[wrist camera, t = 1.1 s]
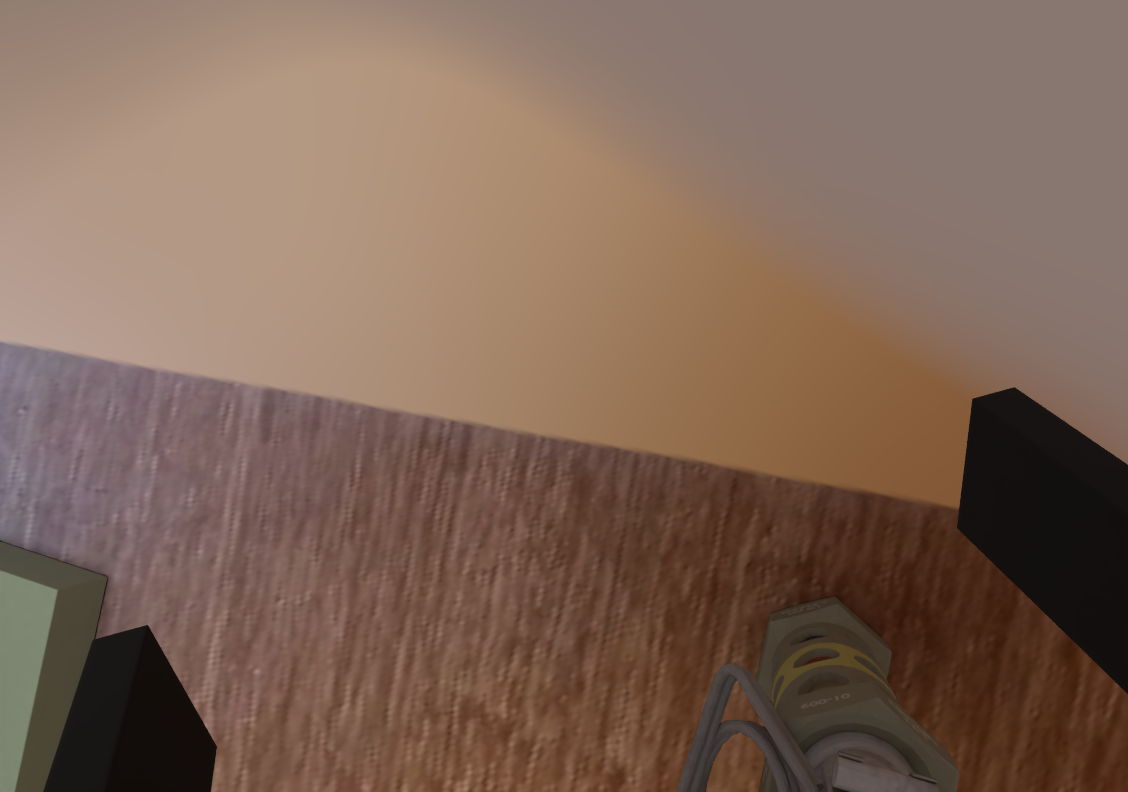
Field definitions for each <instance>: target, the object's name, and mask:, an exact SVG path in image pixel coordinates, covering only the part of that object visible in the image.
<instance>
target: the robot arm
mask: <svg viewBox="0 0 1128 792" xmlns="http://www.w3.org/2000/svg"><path fill="white" fill-rule="evenodd" d="M957 528H958V529H959V530H960V531H961V532H962V533H963V534H964V535H965V536H966V537H967V538H968V539H969V540H970V541H971V542H972V543H973V544H974V545H975V546H976V547H977V548H978V549H979V550H980V551H981V552H982V553H983V554H984V555H985V556H986V557H987V558H988V559H989V560H990V561H992V562H993V563H994V564H995V565H996V566H997V567H998V568H999V569H1000V570H1001V571H1002V572H1003V573H1004V574H1005V575H1006V576H1007V577H1008V578H1009V579H1010V580H1011V581H1012V582H1013V583H1014V584H1015V585H1016V586H1017V587H1018V588H1019V589H1020V590H1021V591H1022V592H1023V593H1024V594H1026V595H1027V596H1028V597H1029V598H1030V599H1031V600H1032V601H1033V602H1034V603H1035V604H1036V605H1037V606H1038V607H1039V608H1040V609H1041V610H1042V611H1043V612H1044V613H1045V614H1046V615H1047V616H1048V617H1049V618H1050V619H1051V620H1052V621H1053V622H1054V623H1055V624H1056V625H1057V626H1058V627H1060V628H1061V629H1062V630H1063V631H1064V632H1065V633H1066V634H1067V635H1068V636H1069V637H1070V638H1071V639H1072V640H1073V641H1074V642H1075V643H1076V644H1077V645H1078V646H1079V647H1080V648H1081V649H1082V650H1083V651H1084V652H1085V653H1086V654H1087V655H1088V656H1089V657H1090V658H1091V659H1092V660H1094V661H1095V662H1096V663H1097V664H1098V665H1099V666H1100V667H1101V668H1102V669H1103V670H1104V671H1105V672H1106V673H1107V674H1108V675H1109V676H1110V677H1111V678H1112V679H1113V680H1114V681H1115V682H1116V683H1117V684H1118V685H1119V686H1120V687H1121V688H1122V689H1123V690H1124V691H1125V692H1126V693H1128V465H1127V464H1126V463H1124V462H1123V461H1121V460H1120V459H1119V458H1117V457H1116V456H1114V455H1113V454H1111V453H1110V452H1108V451H1107V450H1105V449H1104V448H1102V447H1101V446H1099V445H1098V444H1097V443H1095V442H1093V441H1092V440H1091V439H1089V438H1088V437H1086V436H1085V435H1083V434H1082V433H1081V432H1079V431H1078V430H1076V429H1075V428H1073V427H1072V426H1070V425H1069V424H1067V423H1066V422H1065V421H1063V420H1061V419H1060V418H1059V417H1057V416H1056V415H1054V414H1053V413H1051V412H1050V411H1048V410H1047V409H1046V408H1044V407H1042V406H1041V405H1039V404H1038V403H1037V402H1035V401H1034V400H1032V399H1031V398H1029V397H1028V396H1026V395H1025V394H1024V393H1022V392H1021V391H1019V390H1018V389H1016V388H1010V389H1006V390H1003V391H999V392H995V393H992V394H988V395H984V396H981V397H977V398H974V399H972V407H971V416H970V424H969V432H968V441H967V449H966V457H965V466H964V474H963V482H962V491H961V499H960V507H959V516H958V524H957ZM216 749H217V746H216V744H215V742H214V741H213V739H212V737H211V735H210V734H209V732H208V730H207V728H206V727H205V725H204V723H203V721H202V720H201V718H200V716H199V714H198V713H197V711H196V709H195V707H194V705H193V704H192V702H191V700H190V698H189V697H188V695H187V693H186V691H185V690H184V688H183V686H182V684H181V683H180V681H179V679H178V677H177V676H176V674H175V672H174V670H173V669H172V667H171V665H170V663H169V661H168V660H167V658H166V656H165V654H164V653H163V651H162V649H161V647H160V646H159V644H158V642H157V640H156V639H155V637H154V635H153V633H152V632H151V630H150V628H149V626H148V625H146V626H142V627H139V628H135V629H131V630H128V631H124V632H120V633H117V634H113V635H109V636H106V637H102V638H98V639H95V640H92V643H91V646H90V649H89V652H88V655H87V659H86V662H85V665H84V668H83V671H82V674H81V677H80V680H79V683H78V686H77V689H76V692H75V695H74V698H73V701H72V705H71V708H70V711H69V714H68V717H67V720H66V723H65V726H64V729H63V732H62V735H61V738H60V741H59V744H58V747H57V751H56V754H55V757H54V760H53V763H52V766H51V769H50V772H49V775H48V778H47V781H46V784H45V787H44V790H43V792H211V786H212V779H213V771H214V764H215V756H216Z"/></svg>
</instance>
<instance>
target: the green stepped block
mask: <svg viewBox="0 0 1128 792" xmlns="http://www.w3.org/2000/svg"><path fill="white" fill-rule="evenodd" d="M106 582H107V577H106V576H103V575H100V574H97V573H94V572H91V571H88V570H85V569H82V568H79V567H76V566H73V565H70V564H67V563H64V562H61V561H58V560H55V559H52V558H49V557H46V556H43V555H40V554H37V553H33V552H30V551H27V550H24V549H21V548H18V547H15V546H12V545H9V544H6V543H3V542H0V792H43V790H44V787H45V784H46V781H47V778H48V775H49V772H50V769H51V766H52V763H53V760H54V757H55V754H56V751H57V747H58V744H59V741H60V738H61V735H62V732H63V729H64V726H65V723H66V720H67V717H68V714H69V711H70V708H71V705H72V701H73V698H74V695H75V692H76V689H77V686H78V683H79V680H80V677H81V674H82V671H83V668H84V665H85V662H86V659H87V655H88V652H89V649H90V646H91V643H92V640H94V637H95V633H96V628H97V623H98V619H99V614H100V610H101V605H102V600H103V596H104V591H105V586H106Z"/></svg>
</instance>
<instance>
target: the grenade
mask: <svg viewBox="0 0 1128 792" xmlns="http://www.w3.org/2000/svg"><path fill="white" fill-rule="evenodd" d="M891 656H892V652H891V650H890V648H889V647H888V645H887V643H886V642H885V641H884V640H883V639H881V638H880V637H879V636H878V635H877V634H876V633H875V632H874V631H873V630H872V629H871V628H870V627H869V626H868V625H866V624H865V623H864V622H863V621H862V620H861V619H860V618H859V617H858V616H857V615H855V614H854V613H853V612H852V611H851V610H850V609H849V608H847V607H846V606H845V605H844V604H843V603H842V602H841V601H839V600H838V599H837V598H836V597H835V596H834V597H829V598H825V599H820V600H816V601H812V602H807V603H803V604H799V605H796V606H793V607H790V608H786V609H783V610H780V611H777V612H773V613H770V617H769V622H768V626H767V630H766V635H765V639H764V644H763V648H762V653H761V658H760V663H759V668H758V673H757V680H756V678H755V677H754V675H753V674H752V672H751V671H750V670H748V669H746V668H744V667H742V666H739V665H737V664H735V663H728V664H725V665H724V666H722V667H721V668H720V669H719V670H718V672H717V673H716V675H715V676H714V679H713V682H712V685H711V688H710V691H709V694H708V697H707V700H706V703H705V706H704V709H703V712H702V715H701V718H700V721H699V724H698V727H697V730H696V733H695V736H694V739H693V742H692V745H691V748H690V751H689V754H688V757H687V760H686V763H685V766H684V769H683V772H682V775H681V778H680V781H679V784H678V787H677V790H676V792H706V788H707V782H708V779H709V775H710V772H711V768H712V765H713V762H714V760H715V758H716V756H717V754H718V752H719V750H720V749H721V747H722V745H723V744H724V743H725V742H726V741H727V740H728V739H729V738H730V737H731V736H732V735H734V734H737V733H740V732H742V733H743V734H745V735H747V736H748V737H750V738H752V739H753V741H754V742H755V743H756V744H757V746H758V747H759V748H760V750H761V751H762V752H763V754H764V755H765V757H766V758H765V763H764V768H763V773H762V778H761V783H760V788H759V792H956V790H957V783H958V777H959V770H958V769H957V767H956V765H955V763H954V761H953V760H952V758H951V756H950V754H949V753H948V751H947V750H946V749H945V748H944V747H943V746H942V745H941V744H940V743H939V742H937V741H936V740H935V739H934V738H933V737H932V736H931V735H930V734H929V733H928V732H927V731H926V730H925V729H924V728H923V727H922V726H921V725H920V724H918V723H917V722H916V721H915V720H914V719H913V718H912V717H911V716H910V715H909V714H908V713H907V712H906V711H905V710H903V709H902V708H901V707H900V706H899V704H898V701H897V699H896V697H895V695H894V692H893V690H892V689H891V687H890V685H889V683H888V681H887V677H888V672H889V667H890V661H891ZM736 681H738V682H739V684H740V686H741V687H742V689H743V691H744V692H745V694H746V696H747V697H748V699H749V701H750V702H751V704H752V705H753V707H754V709H755V710H756V712H757V714H758V715H759V717H760V719H761V720H762V722H763V724H764V725H765V727H766V728H765V727H763V726H761V725H759V724H758V723H755V722H751V721H742V720H728V721H724V722H722V723H721V719H722V716H723V713H724V710H725V707H726V704H727V701H728V698H729V695H730V692H731V689H732V686H733V684H734V683H735V682H736ZM768 698H769V699H770V700H771V701H772V702H773V705H772V704H771V702H770V700H769V699H768ZM720 723H721V724H720Z"/></svg>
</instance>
